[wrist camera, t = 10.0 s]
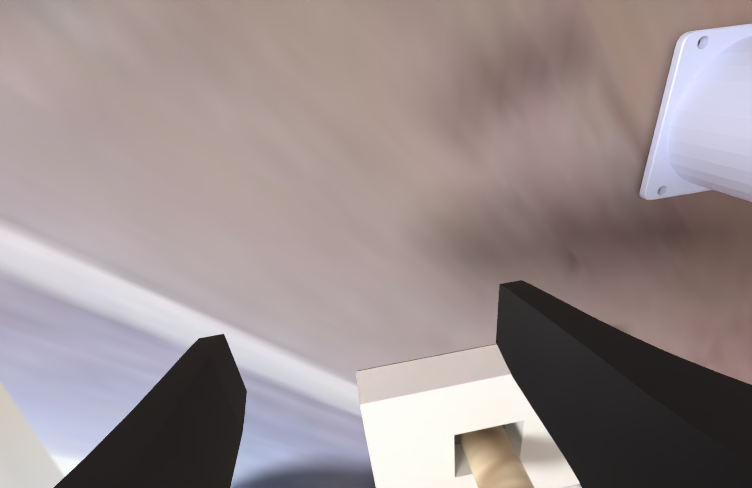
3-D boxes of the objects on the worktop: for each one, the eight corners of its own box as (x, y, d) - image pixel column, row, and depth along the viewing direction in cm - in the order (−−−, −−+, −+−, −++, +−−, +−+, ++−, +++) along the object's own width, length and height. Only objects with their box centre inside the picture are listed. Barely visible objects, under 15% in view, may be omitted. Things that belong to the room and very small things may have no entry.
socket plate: (590, 326, 24) (617, 352, 22) (562, 452, 30) (581, 482, 28) (355, 371, 23) (359, 404, 20) (378, 493, 29) (383, 528, 27)
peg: (485, 398, 25) (551, 528, 18) (502, 420, 27) (569, 547, 20) (447, 420, 26) (496, 554, 19) (465, 440, 27) (518, 571, 20)
